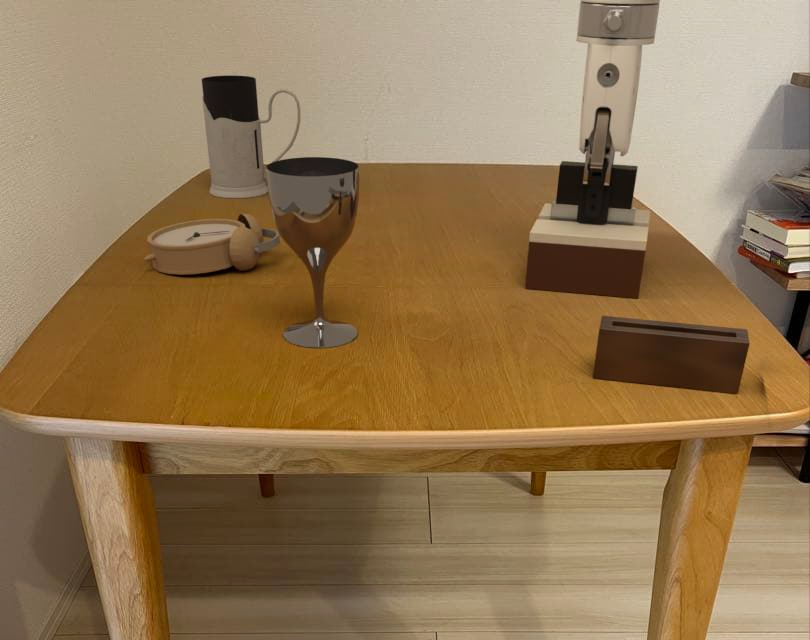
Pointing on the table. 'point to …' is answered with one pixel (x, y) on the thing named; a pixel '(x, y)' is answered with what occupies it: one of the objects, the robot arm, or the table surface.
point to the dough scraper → (619, 198)
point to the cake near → (586, 258)
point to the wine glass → (315, 230)
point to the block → (671, 354)
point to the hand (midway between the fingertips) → (592, 218)
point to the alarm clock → (209, 245)
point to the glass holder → (236, 136)
